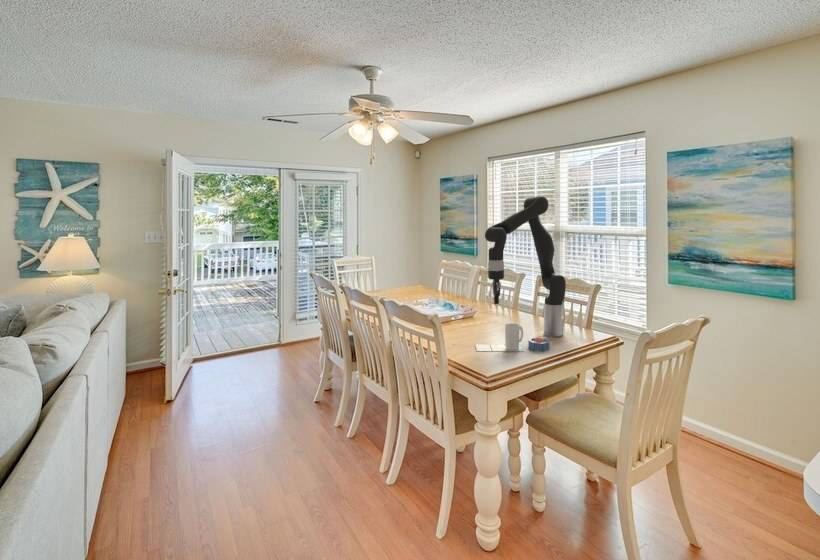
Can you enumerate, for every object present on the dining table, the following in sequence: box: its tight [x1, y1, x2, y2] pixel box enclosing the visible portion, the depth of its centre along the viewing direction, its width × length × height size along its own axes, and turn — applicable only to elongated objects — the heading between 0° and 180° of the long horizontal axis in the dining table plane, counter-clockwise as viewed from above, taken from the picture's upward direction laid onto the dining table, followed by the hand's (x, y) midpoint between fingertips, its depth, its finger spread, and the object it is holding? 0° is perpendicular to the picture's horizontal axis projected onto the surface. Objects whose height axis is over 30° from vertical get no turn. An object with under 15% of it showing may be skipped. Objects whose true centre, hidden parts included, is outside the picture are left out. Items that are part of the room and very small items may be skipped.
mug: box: [504, 322, 524, 351], centre depth 207 cm, size 10×7×12 cm, turn 115°
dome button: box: [533, 336, 545, 343], centre depth 208 cm, size 6×6×5 cm
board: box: [474, 343, 525, 353], centre depth 210 cm, size 22×11×1 cm, turn 85°
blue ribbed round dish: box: [527, 336, 550, 352], centre depth 208 cm, size 10×10×4 cm
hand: (496, 303), depth 208 cm, fingers closed
